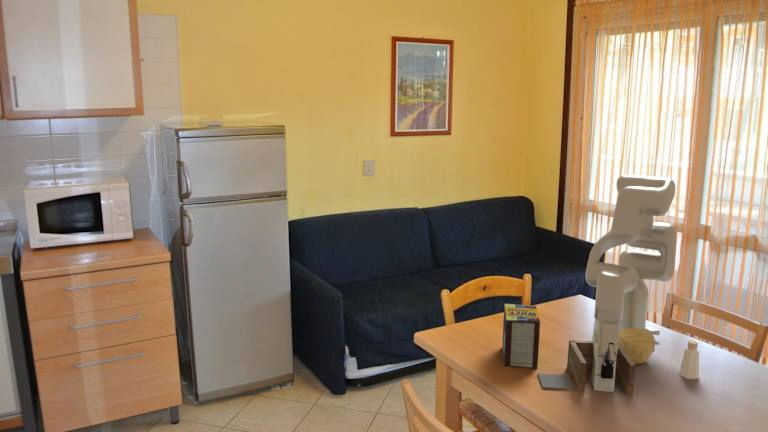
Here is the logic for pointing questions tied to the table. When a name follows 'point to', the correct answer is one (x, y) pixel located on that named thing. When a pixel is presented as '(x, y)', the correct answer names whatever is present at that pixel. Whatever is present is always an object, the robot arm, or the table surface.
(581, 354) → the wooden u-shaped stand
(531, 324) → the protein box
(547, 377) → the mat
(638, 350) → the sculpture
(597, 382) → the syrup box
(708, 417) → the table surface
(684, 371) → the salt shaker
